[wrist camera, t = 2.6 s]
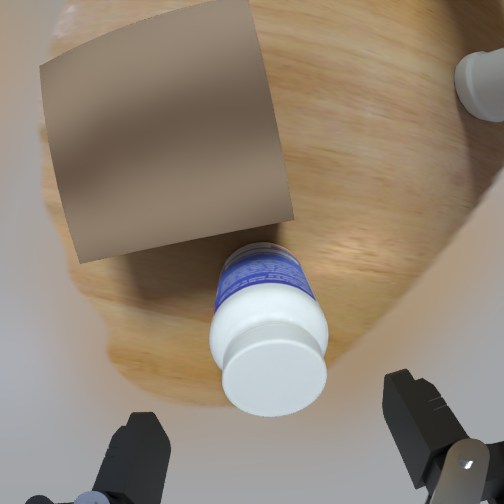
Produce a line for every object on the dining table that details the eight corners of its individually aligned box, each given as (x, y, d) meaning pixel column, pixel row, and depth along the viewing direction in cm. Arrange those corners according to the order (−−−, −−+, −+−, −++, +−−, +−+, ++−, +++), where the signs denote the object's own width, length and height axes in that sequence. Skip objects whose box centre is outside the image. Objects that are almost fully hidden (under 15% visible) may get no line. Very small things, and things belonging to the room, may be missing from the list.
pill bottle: (203, 265, 20) (170, 360, 11) (280, 224, 19) (309, 295, 10) (246, 330, 21) (245, 442, 12) (318, 295, 21) (361, 396, 11)
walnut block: (92, 83, 16) (39, 66, 10) (247, 38, 16) (246, -5, 10) (123, 231, 19) (80, 263, 13) (280, 197, 19) (294, 219, 13)
